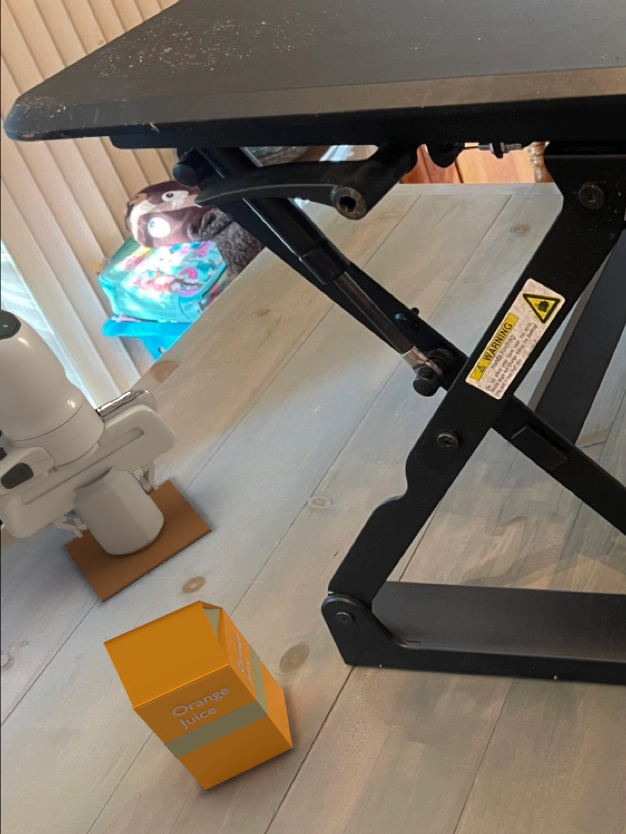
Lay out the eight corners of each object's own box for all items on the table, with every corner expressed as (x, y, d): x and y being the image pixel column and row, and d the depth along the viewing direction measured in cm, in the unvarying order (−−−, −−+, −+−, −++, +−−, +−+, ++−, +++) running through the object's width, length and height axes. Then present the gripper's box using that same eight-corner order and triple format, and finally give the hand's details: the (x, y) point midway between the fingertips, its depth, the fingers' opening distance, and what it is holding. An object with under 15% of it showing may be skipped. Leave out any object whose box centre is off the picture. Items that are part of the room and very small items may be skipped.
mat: (103, 602, 127) (101, 600, 127) (66, 546, 136) (64, 544, 135) (211, 530, 134) (210, 528, 134) (170, 481, 142) (168, 479, 142)
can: (144, 506, 139) (97, 441, 131) (179, 523, 135) (132, 457, 128) (94, 548, 134) (42, 483, 127) (128, 567, 130) (77, 501, 123)
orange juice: (293, 748, 107) (203, 629, 95) (205, 791, 105) (100, 675, 92) (284, 689, 113) (197, 570, 100) (199, 729, 111) (101, 612, 98)
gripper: (134, 372, 130) (187, 451, 139) (-40, 470, 120) (28, 549, 129) (153, 392, 126) (206, 472, 135) (-25, 495, 116) (44, 575, 125)
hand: (118, 511), depth 132 cm, fingers closed on can, 7 cm apart
